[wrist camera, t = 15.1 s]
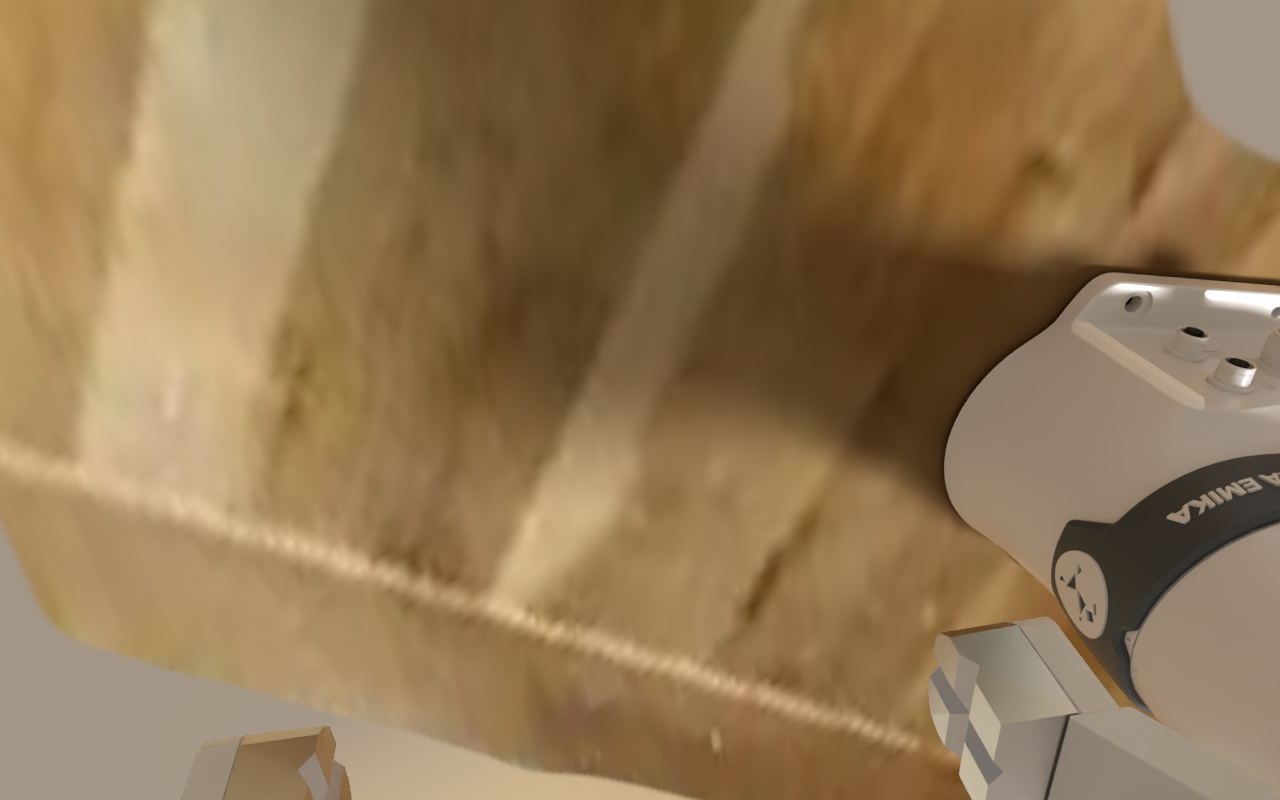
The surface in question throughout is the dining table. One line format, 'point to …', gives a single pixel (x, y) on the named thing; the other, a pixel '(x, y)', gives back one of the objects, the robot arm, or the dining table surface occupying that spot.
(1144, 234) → the dining table surface
